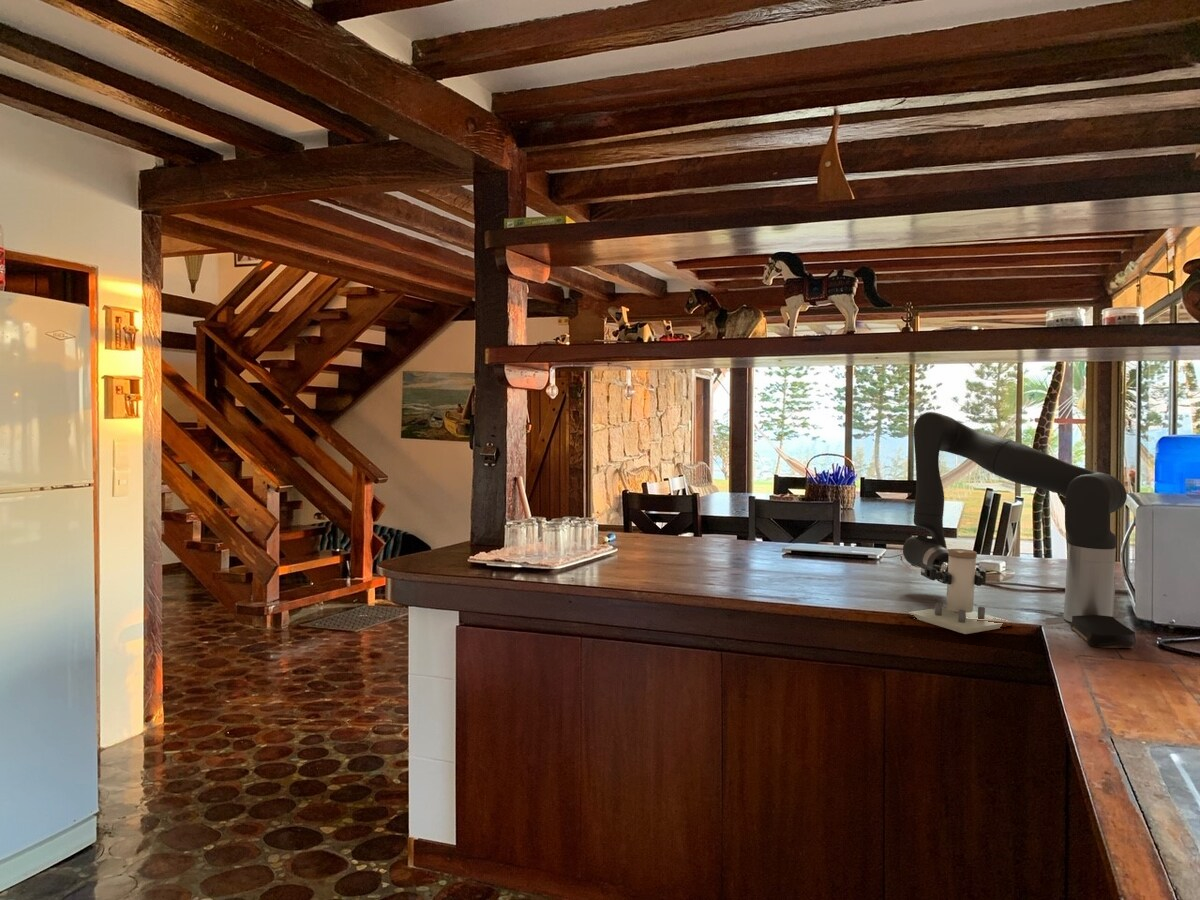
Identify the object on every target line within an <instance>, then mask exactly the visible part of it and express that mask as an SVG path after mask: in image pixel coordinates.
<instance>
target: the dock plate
mask: <svg viewBox="0 0 1200 900" xmlns="http://www.w3.org/2000/svg"><path fill="white" fill-rule="evenodd" d="M985 612H986V607H983V606H978V607H977V611H976V610H973V612H969V613H966V611H965V610H959V612H954V611H951V610H948V609H946V606H943V604H942V603H940V602H935V604H934V608H928V609H922V610H916V611H915V610H914V611H909V612H907V613H908V614H911V615H914V616H915V617H916V618H917V619H916V620H919V621H921V622H924V623H927V624H931V625H935V626H937V627H941V628H944V629H947V630H951V631H954V632H957V633H960V634H964V635H968V634H975V633H980V632H985V631H991V630H997V629H1001V628H1000V627H1001V626H1002V624H1003V623H994V622H988V621H977V620H972V619H967V618H966V617H968V618H971V617H976V616H978V619H985V617H986V618H989V619H993V618H996V619H1000V620H1001V619H1002V620H1006V621H1010V620H1007V619H1003V618H1000V617H996V616H993V615H989V614H986V613H985ZM1010 622H1012V620H1011V621H1010Z"/></svg>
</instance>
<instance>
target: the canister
mask: <svg viewBox="0 0 1200 900" xmlns="http://www.w3.org/2000/svg"><path fill="white" fill-rule="evenodd" d="M948 549H949V548H948ZM948 555H949V561H948V573H950V574H951V575H952V581H951V584H946V585H947V586H946V602H945V603H946V604H945V605H946V606H945V607H946V609H948V610H951V611H954V612H959V610H965V611H966V613H969V612H973V611H974V603H975V602H974V601H975V600H974V599H975V586H976V585H975V570H976V568H977V567H976V565H977V557H978V552H977V551H975V550H971V549H965V548H950V549H949V550H948Z"/></svg>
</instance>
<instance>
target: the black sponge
mask: <svg viewBox="0 0 1200 900" xmlns="http://www.w3.org/2000/svg"><path fill="white" fill-rule="evenodd" d="M1070 629H1071V630H1073V631H1074V632H1075V633H1076V634H1077V635H1078V636H1080V637H1081V638H1082V639H1083V640H1085V641H1086V642H1087V644H1088V645H1089V646H1091V647H1093V648H1112V649H1113V648H1115V649H1117V648H1120V649H1121V648H1125V649H1126V648H1127V649H1128V648H1129V649H1130V648H1134V647H1136V643H1137V642H1136V632H1135V631H1133V630H1132V629H1130V628H1129V627H1127V626H1126V625H1124V623H1121V622H1120V621H1119V620H1117V619H1116V618H1115V617H1114V616H1113V617H1111V616H1102V615H1085V616H1072V622H1070Z"/></svg>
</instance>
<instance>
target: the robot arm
mask: <svg viewBox="0 0 1200 900" xmlns="http://www.w3.org/2000/svg"><path fill="white" fill-rule="evenodd" d="M913 443H914V445H913V446H914V457H915V458H914V459H915V482H916V484H915V485H916V488H915V500H914V511H913V524H914V525H915V526H916V527H917V528H921V529H924V530H926V531H928V532H929V534H930V535H931V538H930V537H923V536H915V535H914V536H910V537H908V538H907V539H906V540H905V542H904V544H903V546H902V553H903V554H902V555H903V557H904V559H905V561H906V562H908V564H910V565H913V566H916V567H919V568H920V575H921V576H922V577H924V578H927V579H928V580H930V581H932V582H933V581H938V582H939V583H940V584H941V583H942V584H944V585H947V584H951V581H952V575H951V574H950V573H948V561H949V555H948V550H949V548H947V542H946V539H945V533H944V523H943V520H944V519H943V518H944V511H945V510H944V509H945V492H944V487H943V483H942V478H941V473H940V467H939V465H940V464H939V458H940V452H946V453H950V454H952V455H956V456H960V457H963V458H966V459H969V460H971V462H973V463H975V464H976V465H978V466H979V467H981V468H982V469H984V470H986V471H988V472H989V473H992V474H994V475H996V476H998V477H1000V478H1003V479H1004V480H1008V481H1010V482H1013V483H1015V484H1019V485H1022V486H1026V487H1032V488H1035V489H1041V490H1045V491H1051V492H1055V493H1058V494H1060V495H1062V496H1065V500H1064V501H1065V502H1064V503H1065V504H1064V505H1065V506H1064V507H1065V508H1064V528H1065V532H1066V534H1067V537H1068V538H1067V553H1066V554H1067V555H1066V556H1067V557H1066V571H1065V572H1066V573H1065V574H1066V575H1065V585H1064V586H1065V589H1064V603H1063V604H1064V605H1063V619H1064V620H1065V621H1067V622H1070V623H1072V616H1085V615H1102V616H1111V617H1114V607H1115V593H1116V591H1115V590H1116V581H1115V570H1116V569H1115V567H1116V554H1117V553H1116V552H1117V536H1116V534H1115V533H1114V532H1112V530H1111V528H1110V514H1112V513H1115V512H1117V511H1119V510H1120V509H1122V508H1123V506H1124V505H1125V504H1126V501H1127V498H1128V494H1127V493H1128V492H1127V490H1126V488H1125V486H1124V484H1123V483H1122V481H1120V480H1119V479H1118V478H1117V477H1115V476H1113V475H1111V474H1108V473H1104V472H1101V471H1097V470H1091V469H1088V468H1085V467H1080V466H1079V465H1078V466H1077V465H1074V464H1071V463H1069V462H1066V461H1063V460H1062V459H1058V458H1057V457H1055V456H1052V455H1051V454H1048V453H1046V452H1043V451H1040V450H1038V449H1035V448H1033V447H1031V446H1028V445H1026V444H1023V443H1020V442H1018V441H1014V440H1012V439H1010V438H1005V437H1004V436H1003V437H1002V436H999V435H993V434H987V433H983V432H980V431H978V430H975V429H973V428H971V427H969V426H967V425H965V424H964V423H961V422H960V421H958V420H956V419H954V418H952V417H950V416H948V415H944V414H942V413H939V412H935V411H927V412H925V413H922V414H921V415H920V416H918V417H917V419H916V421H915V423H914V426H913ZM986 576H987V571H986V569H985V568H984V567H983V566H977V567H975V585H974V586H977V587H978V586H979V587H981V586H982V585H983V584H984V583H987V582H986Z"/></svg>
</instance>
